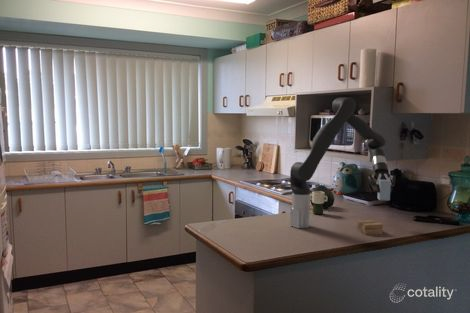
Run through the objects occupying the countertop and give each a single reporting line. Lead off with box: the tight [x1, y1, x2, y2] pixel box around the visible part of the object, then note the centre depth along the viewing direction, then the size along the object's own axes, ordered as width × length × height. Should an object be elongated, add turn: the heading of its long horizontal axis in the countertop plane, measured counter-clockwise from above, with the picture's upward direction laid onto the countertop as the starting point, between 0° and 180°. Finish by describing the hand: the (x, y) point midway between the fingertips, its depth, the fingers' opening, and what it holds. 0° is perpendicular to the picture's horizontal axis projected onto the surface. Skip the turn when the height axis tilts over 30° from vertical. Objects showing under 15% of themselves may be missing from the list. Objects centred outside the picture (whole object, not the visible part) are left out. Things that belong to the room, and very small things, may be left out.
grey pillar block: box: [376, 179, 392, 201], centre depth 211 cm, size 5×5×10 cm
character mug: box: [310, 191, 327, 215], centre depth 241 cm, size 11×7×13 cm, turn 60°
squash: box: [310, 184, 335, 210], centre depth 259 cm, size 14×15×15 cm
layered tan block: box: [356, 219, 384, 236], centre depth 203 cm, size 9×9×5 cm
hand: (384, 191), depth 209 cm, fingers closed on grey pillar block, 5 cm apart
